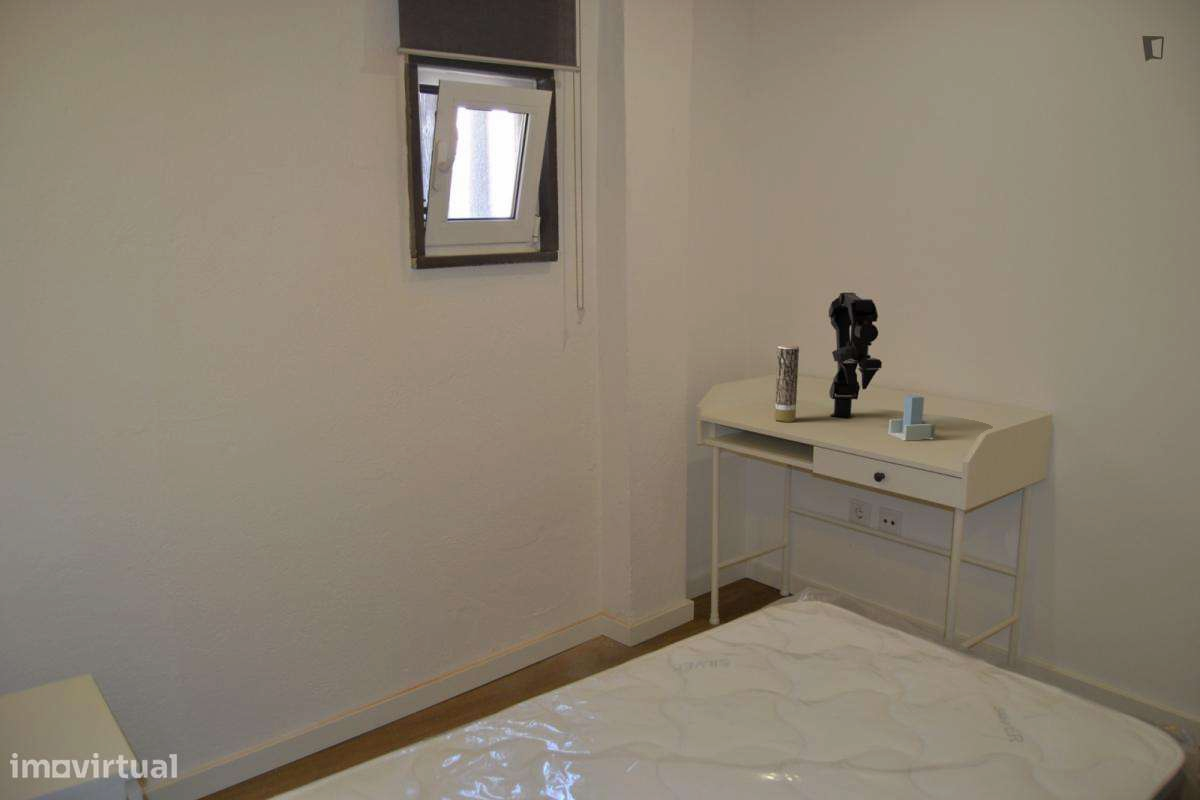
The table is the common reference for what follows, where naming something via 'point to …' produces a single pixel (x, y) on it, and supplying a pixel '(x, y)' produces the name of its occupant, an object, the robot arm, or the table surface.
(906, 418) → the peg
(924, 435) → the slot bay
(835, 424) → the table surface
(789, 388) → the paper tube
